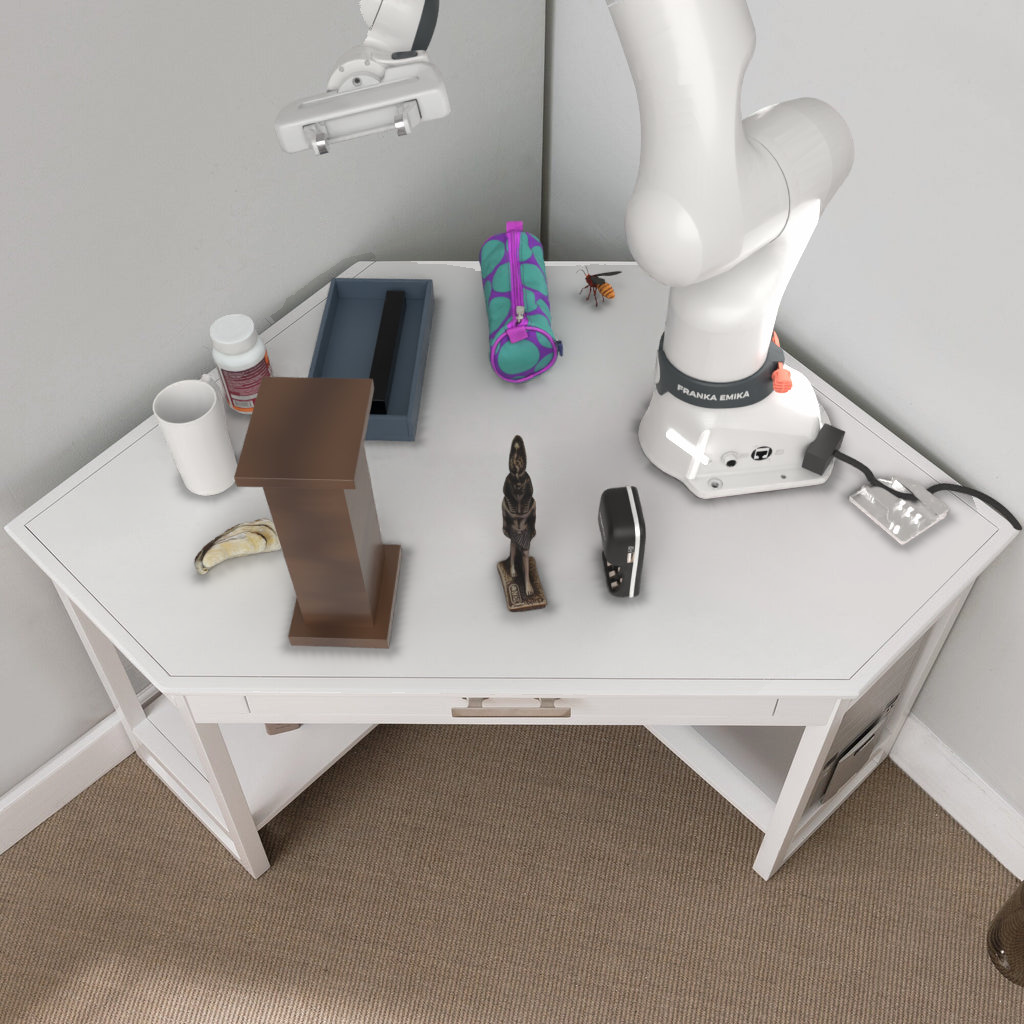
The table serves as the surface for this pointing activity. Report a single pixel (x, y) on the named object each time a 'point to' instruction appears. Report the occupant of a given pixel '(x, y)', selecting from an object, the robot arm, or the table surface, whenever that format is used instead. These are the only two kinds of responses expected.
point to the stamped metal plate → (900, 508)
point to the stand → (323, 507)
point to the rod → (387, 350)
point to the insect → (600, 285)
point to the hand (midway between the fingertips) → (361, 138)
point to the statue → (519, 536)
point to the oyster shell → (238, 543)
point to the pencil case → (517, 305)
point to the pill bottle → (239, 360)
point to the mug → (197, 434)
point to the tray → (354, 339)
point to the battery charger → (622, 539)
